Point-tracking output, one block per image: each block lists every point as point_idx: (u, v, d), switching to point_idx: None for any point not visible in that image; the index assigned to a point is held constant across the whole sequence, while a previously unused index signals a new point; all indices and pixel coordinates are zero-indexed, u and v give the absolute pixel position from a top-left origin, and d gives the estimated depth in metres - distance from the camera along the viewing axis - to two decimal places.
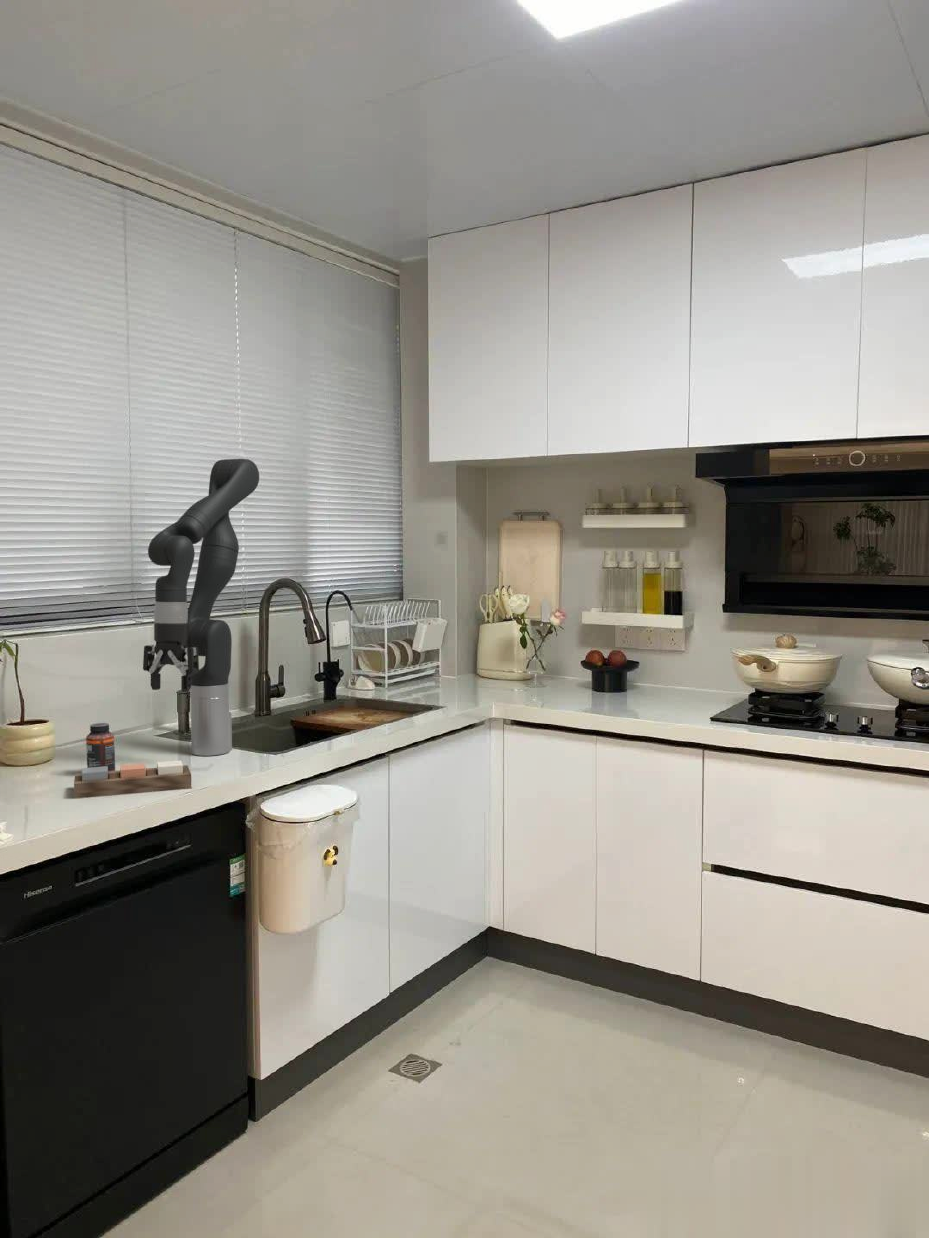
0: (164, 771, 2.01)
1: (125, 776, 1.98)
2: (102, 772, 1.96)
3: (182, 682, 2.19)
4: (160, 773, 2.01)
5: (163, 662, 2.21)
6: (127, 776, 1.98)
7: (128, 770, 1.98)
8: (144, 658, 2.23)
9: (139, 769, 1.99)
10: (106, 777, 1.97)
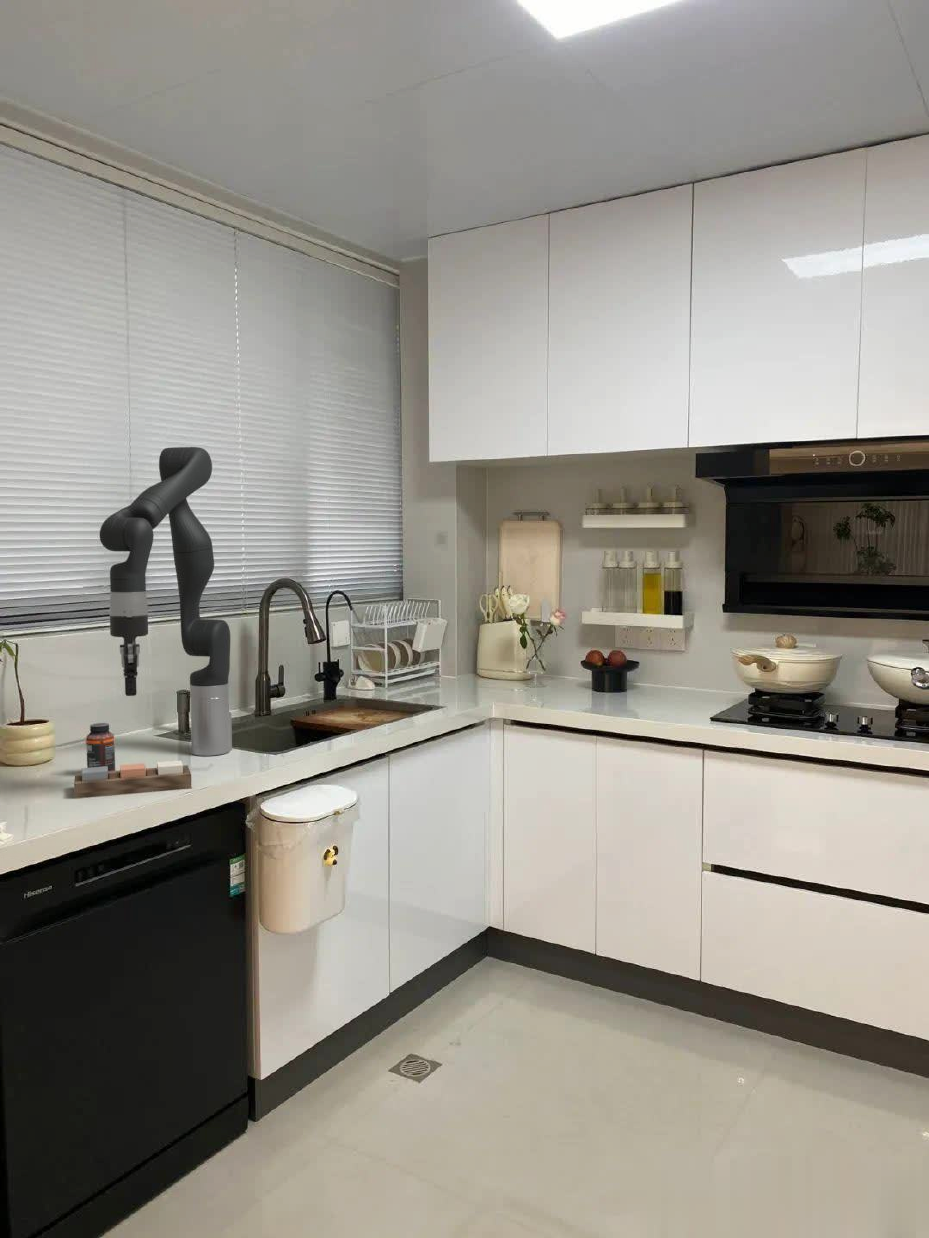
0: (164, 771, 2.01)
1: (125, 776, 1.98)
2: (102, 772, 1.96)
3: None
4: (160, 773, 2.01)
5: None
6: (127, 776, 1.98)
7: (128, 770, 1.98)
8: (136, 666, 1.96)
9: (139, 769, 1.99)
10: (106, 777, 1.97)
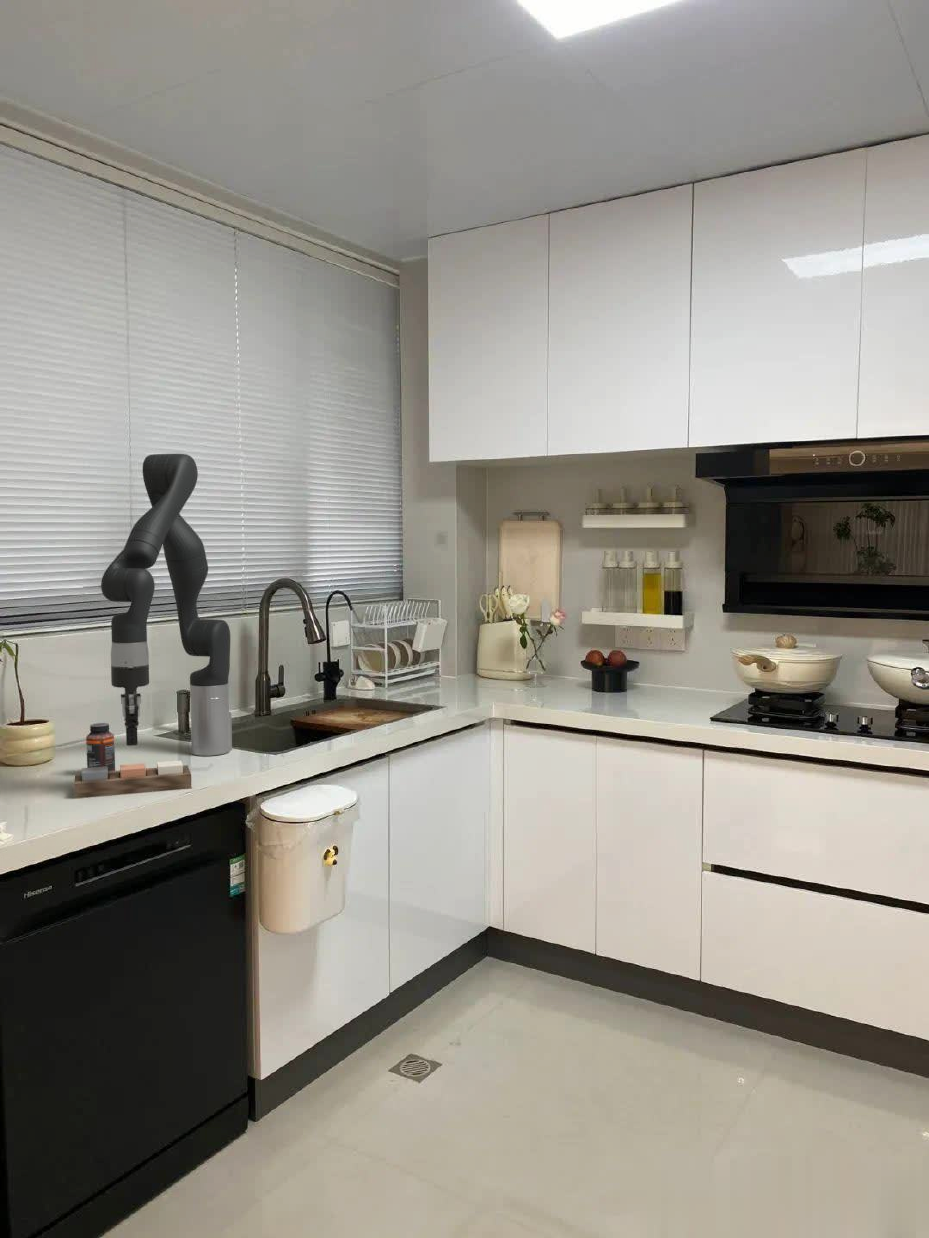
0: (164, 771, 2.01)
1: (125, 776, 1.98)
2: (102, 772, 1.96)
3: None
4: (160, 773, 2.01)
5: None
6: (127, 776, 1.98)
7: (128, 770, 1.98)
8: (137, 716, 1.96)
9: (139, 769, 1.99)
10: (106, 777, 1.97)
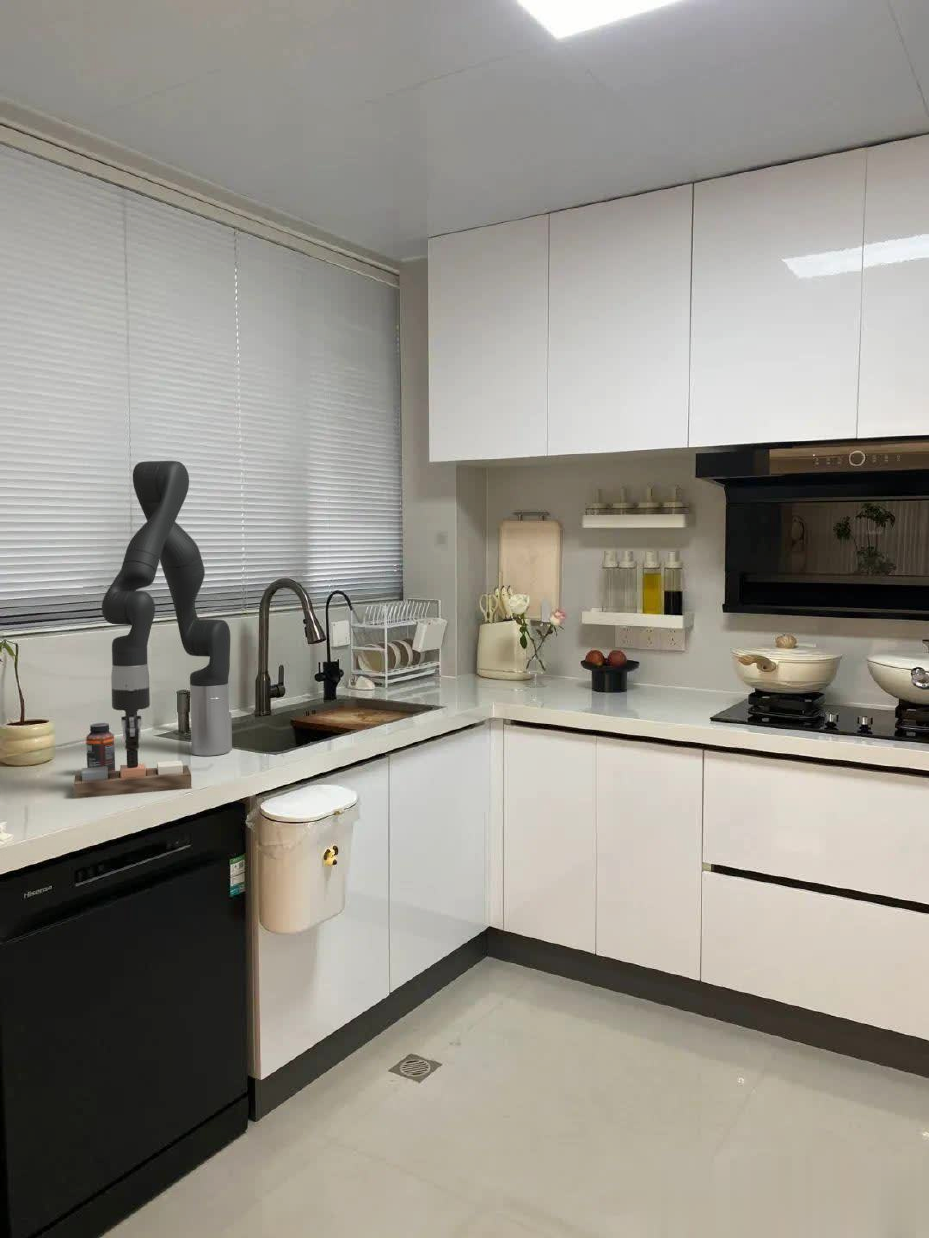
0: (164, 771, 2.01)
1: (125, 776, 1.98)
2: (102, 772, 1.96)
3: None
4: (160, 773, 2.01)
5: None
6: (127, 776, 1.98)
7: (128, 770, 1.98)
8: None
9: (139, 769, 1.99)
10: (106, 777, 1.97)
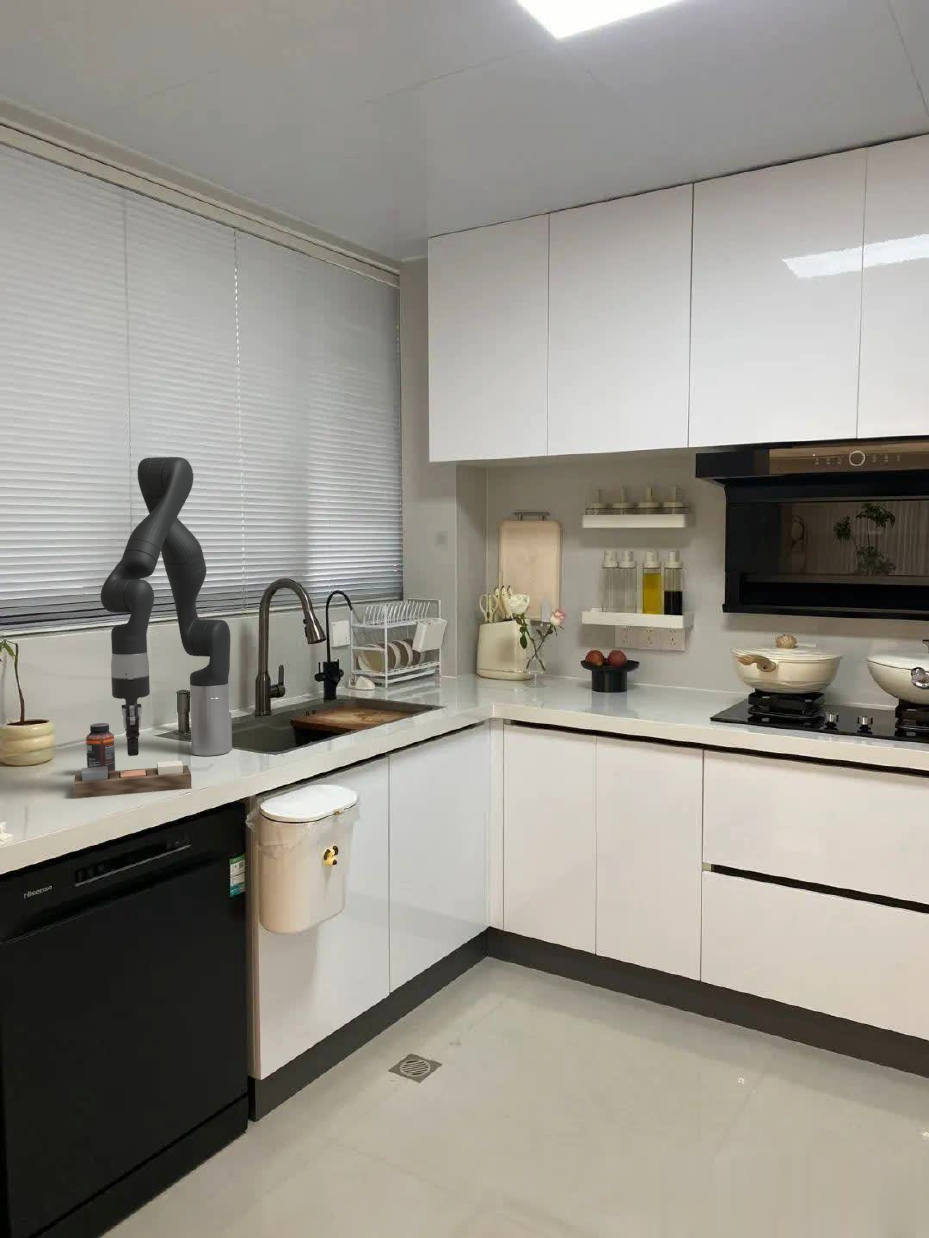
0: (164, 771, 2.01)
1: None
2: (102, 772, 1.96)
3: None
4: (160, 773, 2.01)
5: None
6: None
7: (128, 776, 1.98)
8: (138, 727, 1.97)
9: (139, 775, 1.99)
10: (106, 777, 1.97)
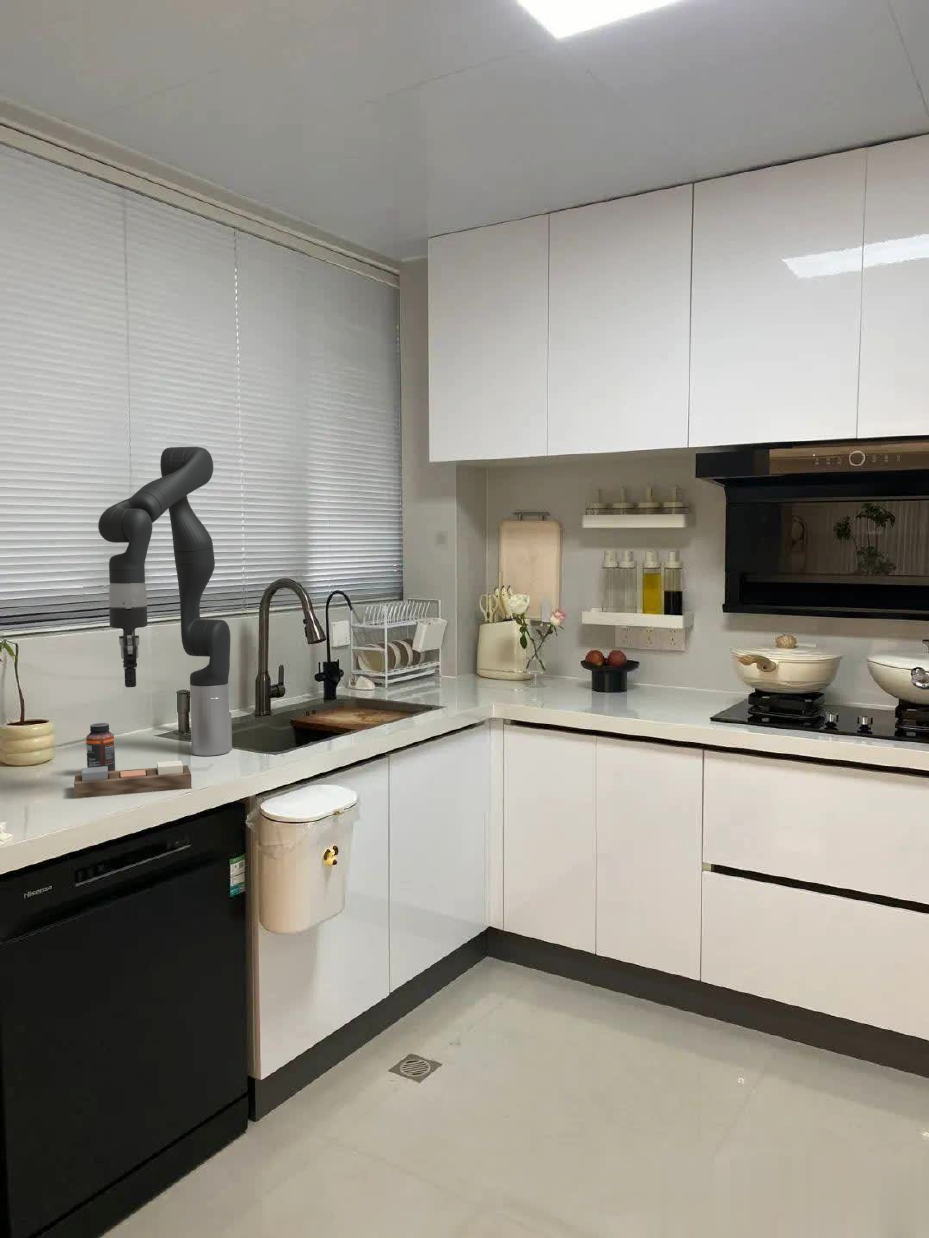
0: (164, 771, 2.01)
1: None
2: (102, 772, 1.96)
3: None
4: (160, 773, 2.01)
5: None
6: None
7: (128, 776, 1.98)
8: (136, 657, 1.96)
9: (139, 775, 1.99)
10: (106, 777, 1.97)
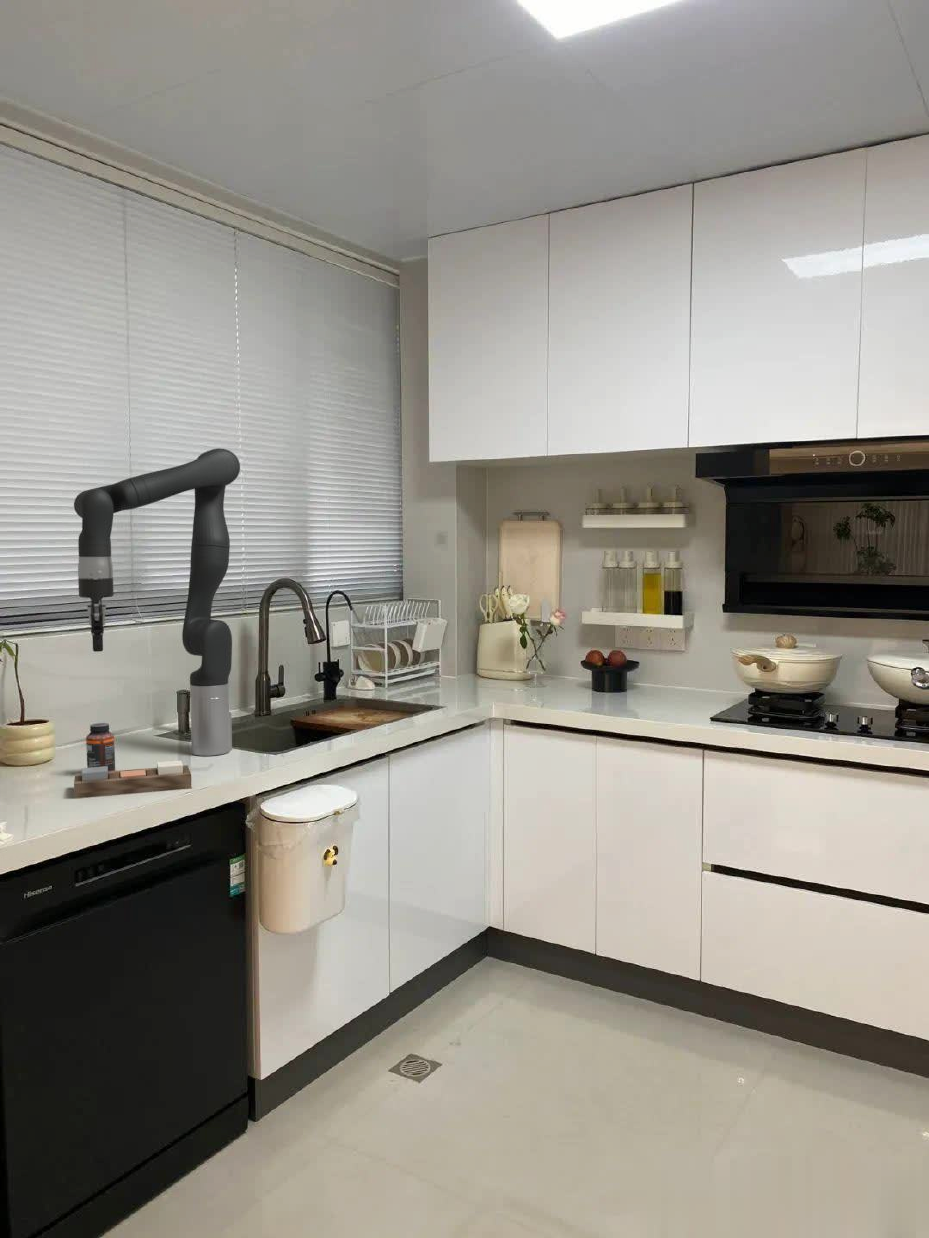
0: (164, 771, 2.01)
1: None
2: (102, 772, 1.96)
3: None
4: (160, 773, 2.01)
5: None
6: None
7: (128, 776, 1.98)
8: (102, 624, 2.16)
9: (139, 775, 1.99)
10: (106, 777, 1.97)
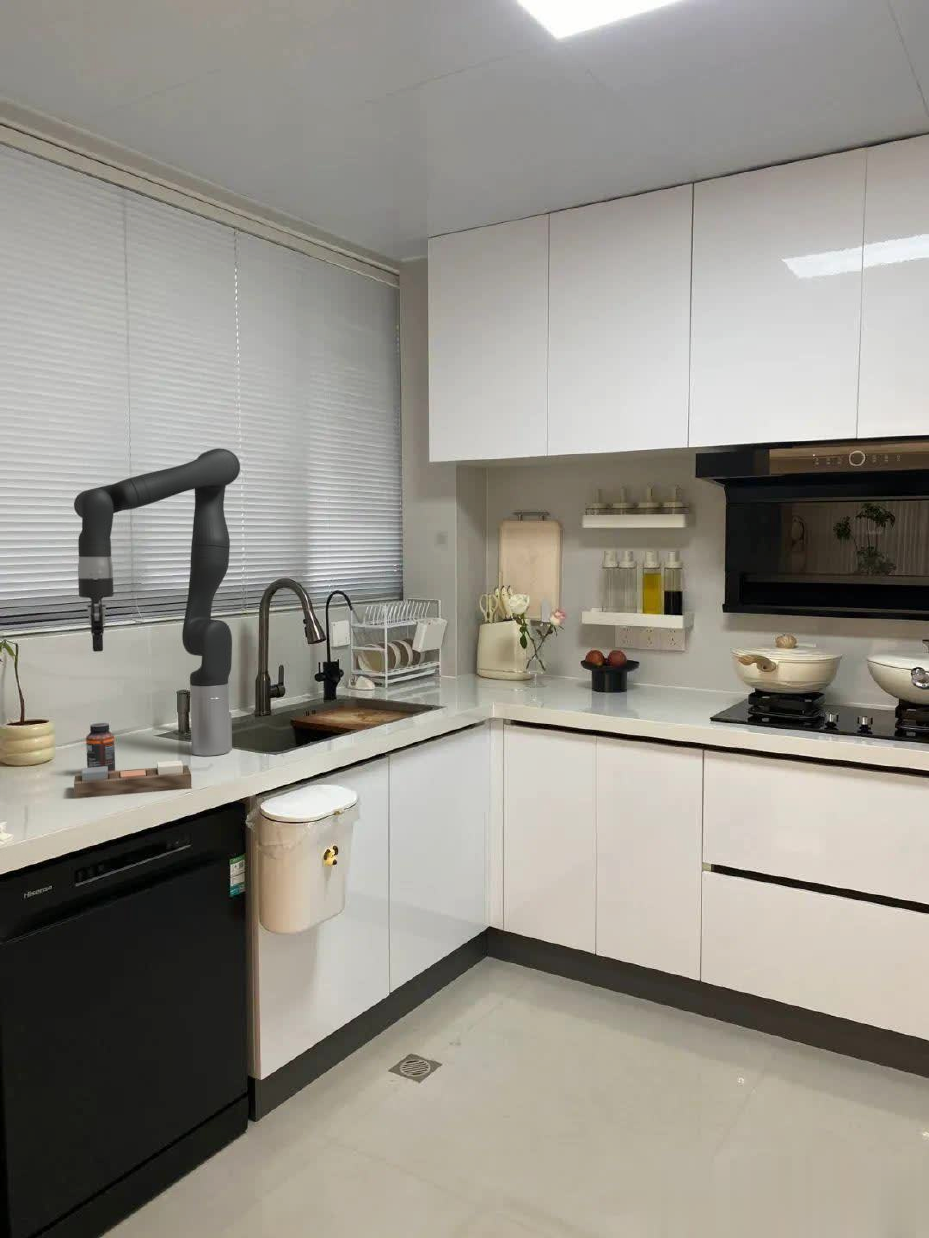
0: (164, 771, 2.01)
1: None
2: (102, 772, 1.96)
3: None
4: (160, 773, 2.01)
5: None
6: None
7: (128, 776, 1.98)
8: (102, 624, 2.16)
9: (139, 775, 1.99)
10: (106, 777, 1.97)
